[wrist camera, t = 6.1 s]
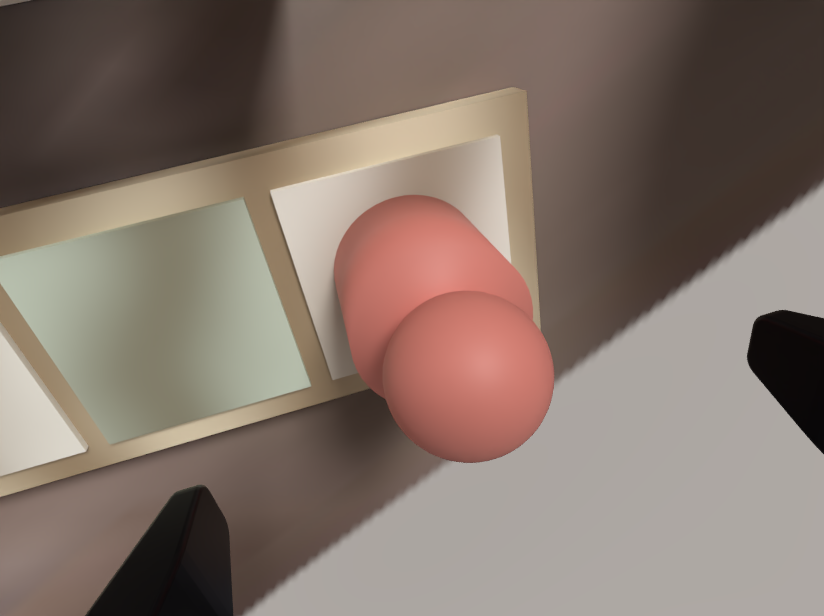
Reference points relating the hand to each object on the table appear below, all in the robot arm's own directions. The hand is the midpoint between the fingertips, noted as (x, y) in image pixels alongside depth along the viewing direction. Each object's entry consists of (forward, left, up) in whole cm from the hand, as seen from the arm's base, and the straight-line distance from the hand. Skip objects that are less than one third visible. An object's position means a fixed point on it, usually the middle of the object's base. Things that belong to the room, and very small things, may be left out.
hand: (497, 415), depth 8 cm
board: (+9, 0, -7) cm, 11 cm away
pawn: (0, 0, -6) cm, 6 cm away
